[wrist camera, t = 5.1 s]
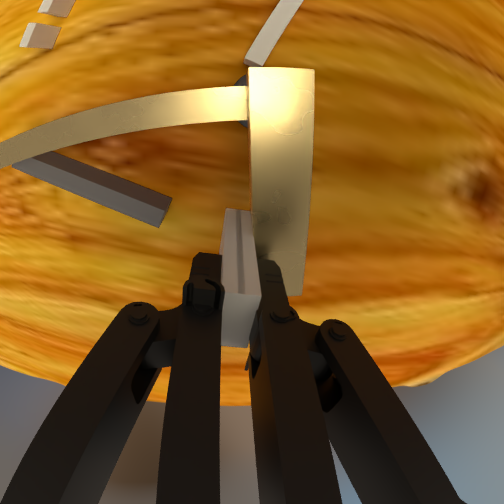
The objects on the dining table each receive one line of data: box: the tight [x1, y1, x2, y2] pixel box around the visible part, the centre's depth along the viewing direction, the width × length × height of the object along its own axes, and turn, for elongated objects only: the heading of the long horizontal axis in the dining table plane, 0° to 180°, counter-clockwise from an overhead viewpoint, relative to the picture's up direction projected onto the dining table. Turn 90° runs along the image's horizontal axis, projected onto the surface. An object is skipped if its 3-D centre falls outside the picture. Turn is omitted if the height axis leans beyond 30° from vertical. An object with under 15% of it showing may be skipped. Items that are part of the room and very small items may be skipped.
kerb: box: [12, 151, 172, 228], centre depth 19 cm, size 15×2×2 cm, turn 63°
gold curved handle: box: [0, 67, 314, 296], centre depth 15 cm, size 21×10×9 cm, turn 91°
